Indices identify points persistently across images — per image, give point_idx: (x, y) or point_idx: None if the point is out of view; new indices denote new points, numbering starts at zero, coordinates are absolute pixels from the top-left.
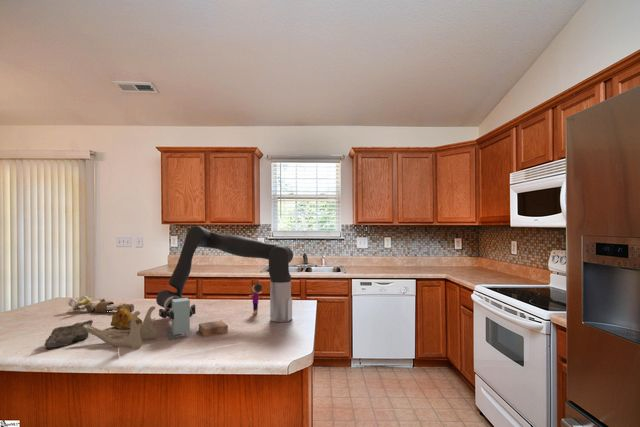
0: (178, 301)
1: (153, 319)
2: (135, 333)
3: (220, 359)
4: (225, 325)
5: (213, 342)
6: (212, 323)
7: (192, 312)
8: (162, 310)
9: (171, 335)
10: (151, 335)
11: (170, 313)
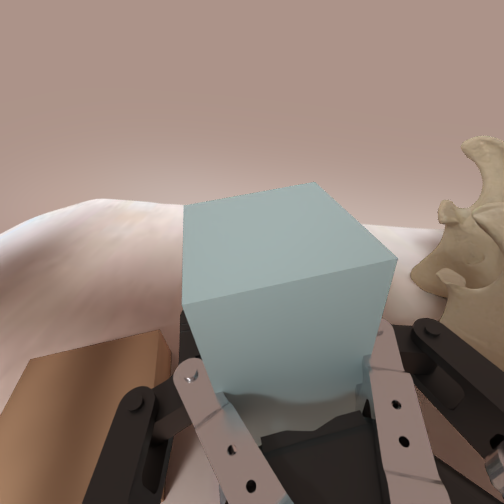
0: (281, 190)
1: (446, 274)
2: (460, 249)
3: (182, 214)
4: (35, 366)
5: (158, 294)
6: (61, 443)
7: (184, 313)
8: (501, 383)
9: None
10: None
11: None
